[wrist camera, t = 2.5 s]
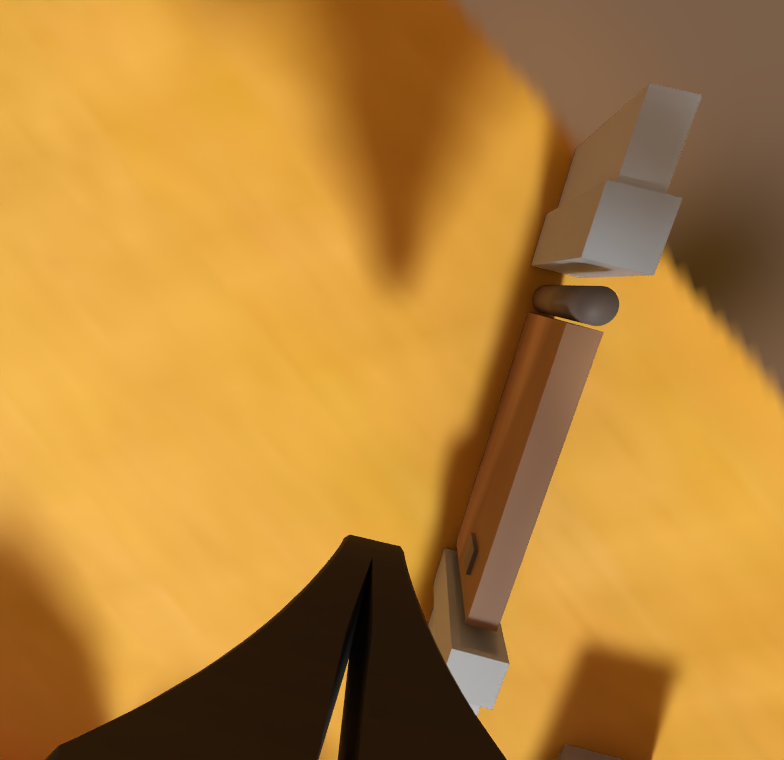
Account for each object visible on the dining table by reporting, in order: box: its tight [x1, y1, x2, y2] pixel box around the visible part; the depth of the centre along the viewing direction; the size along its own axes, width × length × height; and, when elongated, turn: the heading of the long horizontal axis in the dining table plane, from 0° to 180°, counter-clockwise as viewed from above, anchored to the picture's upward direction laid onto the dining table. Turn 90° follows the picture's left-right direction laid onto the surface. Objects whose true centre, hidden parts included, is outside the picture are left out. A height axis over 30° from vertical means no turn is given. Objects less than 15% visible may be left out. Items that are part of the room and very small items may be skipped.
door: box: [456, 285, 619, 632], centre depth 15 cm, size 1×11×5 cm, turn 166°
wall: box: [428, 83, 702, 716], centre depth 16 cm, size 2×30×5 cm, turn 166°
